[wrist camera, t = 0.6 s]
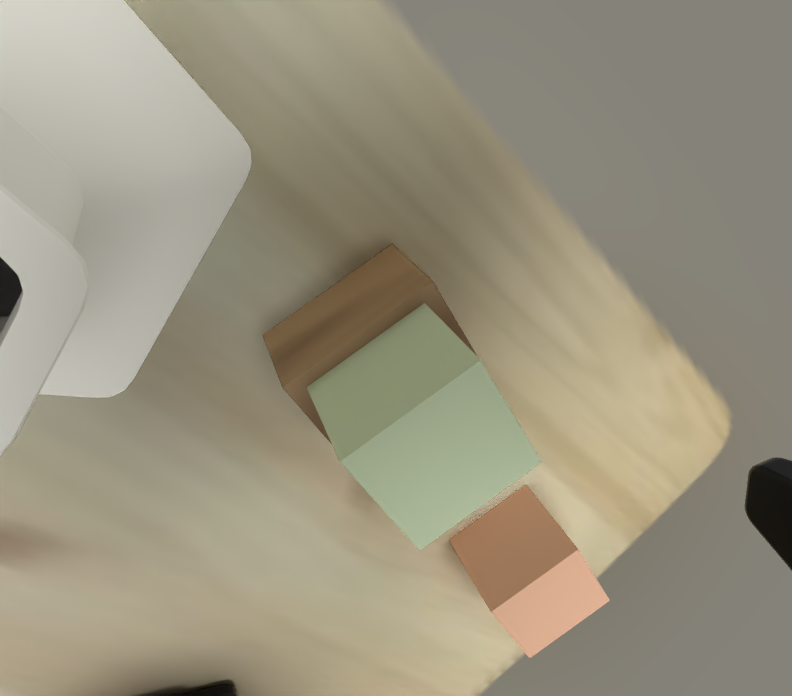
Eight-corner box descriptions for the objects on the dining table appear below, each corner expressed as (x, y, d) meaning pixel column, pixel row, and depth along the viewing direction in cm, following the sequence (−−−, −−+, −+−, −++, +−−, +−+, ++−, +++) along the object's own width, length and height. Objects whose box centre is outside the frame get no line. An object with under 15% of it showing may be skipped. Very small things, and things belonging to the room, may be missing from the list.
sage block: (483, 396, 20) (542, 462, 17) (378, 471, 20) (419, 551, 17) (424, 302, 18) (480, 360, 15) (306, 387, 18) (339, 462, 15)
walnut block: (457, 350, 23) (503, 399, 20) (343, 431, 23) (373, 492, 20) (390, 242, 21) (432, 281, 18) (261, 333, 21) (282, 387, 18)
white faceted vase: (-87, 52, 15) (-1491, 334, 2) (56, -82, 14) (-506, -702, 2) (84, 203, 17) (-65, 748, 5) (207, 90, 17) (411, 332, 4)
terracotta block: (556, 533, 30) (609, 600, 26) (485, 584, 30) (529, 658, 26) (525, 483, 28) (578, 549, 24) (448, 538, 28) (491, 612, 24)
